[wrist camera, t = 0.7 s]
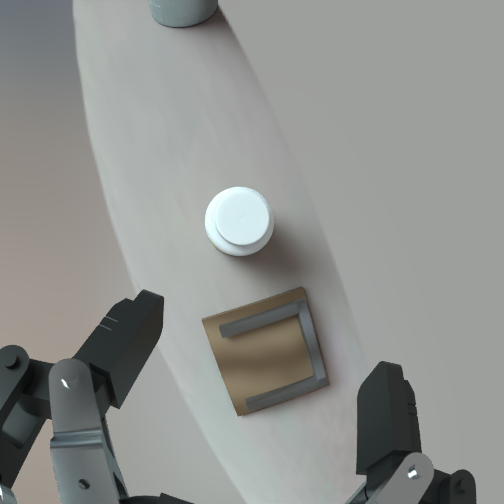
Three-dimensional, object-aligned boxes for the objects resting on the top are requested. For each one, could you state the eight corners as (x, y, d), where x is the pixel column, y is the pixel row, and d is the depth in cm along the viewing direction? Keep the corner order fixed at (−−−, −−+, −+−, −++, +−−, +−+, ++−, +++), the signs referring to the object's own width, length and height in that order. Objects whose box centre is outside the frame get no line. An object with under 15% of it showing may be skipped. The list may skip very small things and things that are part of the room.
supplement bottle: (240, 265, 32) (251, 272, 22) (196, 234, 32) (187, 227, 22) (271, 222, 33) (295, 209, 22) (227, 191, 32) (233, 165, 22)
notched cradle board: (202, 318, 32) (201, 324, 29) (301, 286, 33) (307, 289, 30) (237, 412, 32) (238, 422, 30) (326, 381, 33) (333, 389, 31)
